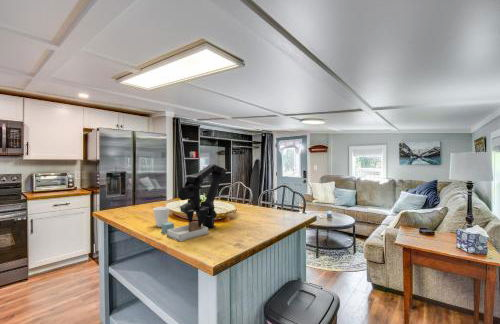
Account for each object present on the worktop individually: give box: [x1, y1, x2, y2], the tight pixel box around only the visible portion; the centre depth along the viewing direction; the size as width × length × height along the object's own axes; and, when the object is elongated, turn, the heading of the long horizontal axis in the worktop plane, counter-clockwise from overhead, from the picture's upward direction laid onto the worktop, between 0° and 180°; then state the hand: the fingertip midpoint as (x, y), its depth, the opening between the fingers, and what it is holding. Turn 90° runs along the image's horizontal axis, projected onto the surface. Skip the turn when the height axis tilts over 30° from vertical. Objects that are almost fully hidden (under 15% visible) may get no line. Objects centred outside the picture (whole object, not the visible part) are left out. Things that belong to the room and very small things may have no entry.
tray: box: [166, 224, 209, 242], centre depth 139 cm, size 18×13×4 cm
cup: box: [152, 206, 171, 228], centre depth 157 cm, size 10×10×11 cm
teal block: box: [161, 221, 175, 235], centre depth 144 cm, size 5×5×5 cm
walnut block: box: [187, 220, 201, 232], centre depth 142 cm, size 5×5×5 cm
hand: (194, 225), depth 142 cm, fingers open, 9 cm apart
